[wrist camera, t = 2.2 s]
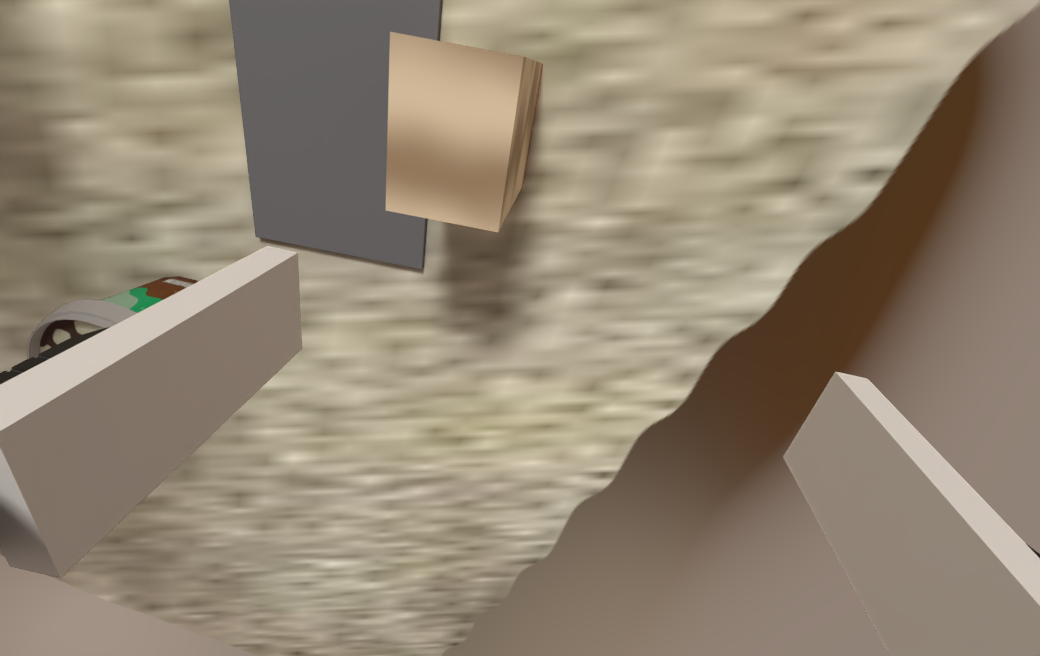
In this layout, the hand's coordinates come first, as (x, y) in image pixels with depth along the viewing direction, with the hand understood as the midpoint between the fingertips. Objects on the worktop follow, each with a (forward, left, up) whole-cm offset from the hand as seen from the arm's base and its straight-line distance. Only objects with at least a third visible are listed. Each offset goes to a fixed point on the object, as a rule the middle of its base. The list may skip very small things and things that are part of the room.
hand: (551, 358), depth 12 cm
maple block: (-3, -6, -26) cm, 26 cm away
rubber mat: (-3, -17, -26) cm, 31 cm away
